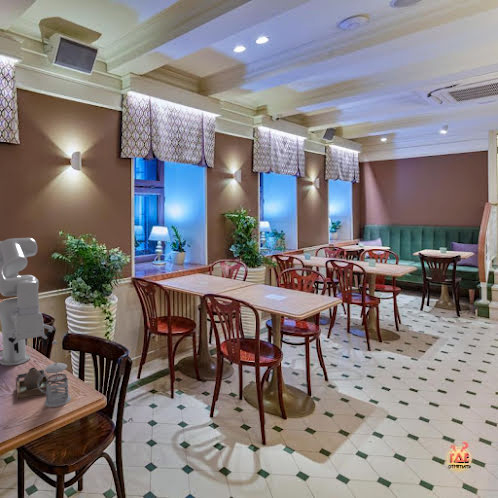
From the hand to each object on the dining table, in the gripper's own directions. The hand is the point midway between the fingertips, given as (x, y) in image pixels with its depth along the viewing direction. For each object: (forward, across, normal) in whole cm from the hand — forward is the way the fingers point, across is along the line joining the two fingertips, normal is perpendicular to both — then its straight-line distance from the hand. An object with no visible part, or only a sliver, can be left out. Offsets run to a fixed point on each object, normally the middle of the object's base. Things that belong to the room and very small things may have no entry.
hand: (30, 349), depth 157 cm
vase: (+17, 0, -1) cm, 17 cm away
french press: (+18, +7, -16) cm, 24 cm away
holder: (+18, 0, -1) cm, 18 cm away
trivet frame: (+18, 0, +12) cm, 21 cm away
